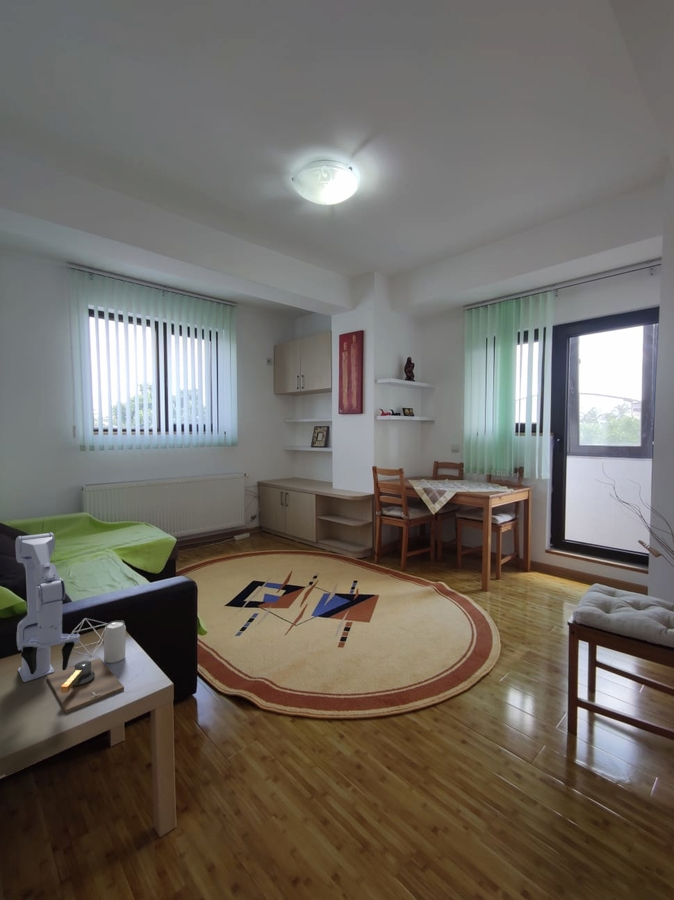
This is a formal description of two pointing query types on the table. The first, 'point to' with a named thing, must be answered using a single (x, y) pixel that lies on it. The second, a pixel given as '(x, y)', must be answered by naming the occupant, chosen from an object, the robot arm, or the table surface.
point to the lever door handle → (79, 676)
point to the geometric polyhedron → (95, 631)
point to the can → (114, 641)
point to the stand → (85, 686)
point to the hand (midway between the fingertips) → (49, 670)
